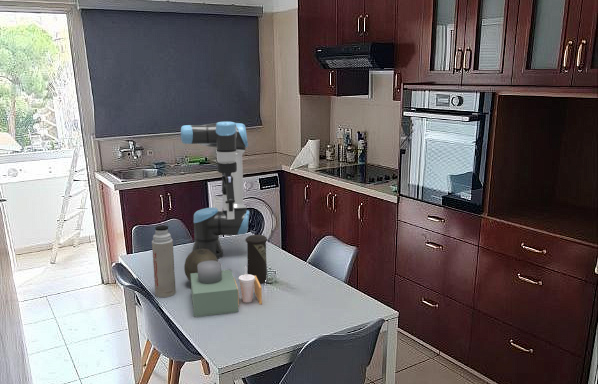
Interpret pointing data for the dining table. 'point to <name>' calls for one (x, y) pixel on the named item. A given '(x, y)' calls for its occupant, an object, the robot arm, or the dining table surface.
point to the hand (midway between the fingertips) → (228, 214)
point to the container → (257, 257)
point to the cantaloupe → (197, 260)
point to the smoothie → (247, 286)
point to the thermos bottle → (163, 262)
